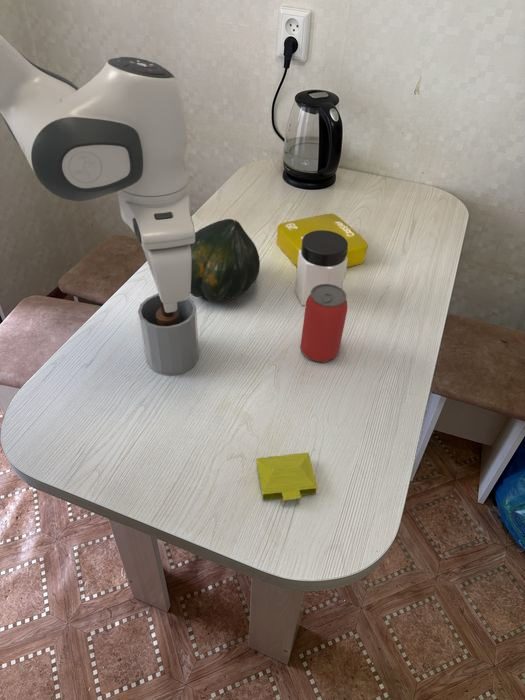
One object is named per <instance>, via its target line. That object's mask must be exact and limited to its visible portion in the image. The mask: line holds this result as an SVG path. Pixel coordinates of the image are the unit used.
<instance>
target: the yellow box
mask: <svg viewBox="0 0 525 700" xmlns="http://www.w3.org/2000/svg"><path fill="white" fill-rule="evenodd" d="M318 230H326V231H332V232H335V233H338V234H340V235H341V236H343V237H344V238H345V239H346V240H347V242H348V251H347V255H346V257H347V259H348V262H347V267H346V269H347V268H350V267H354V266H359V265H361V264H363V263H364V262H365V261H366V256H367V251H368V247H369V243H368V241H367V240H366V239H365V238H364V237H362V236H361V235H360V234H359V233H358V231H356V230H354V229H353V228H352V227H351V226H350V225H349V224H348V223H347V222H345V221H344V220H343V219H342V218H341V217H340V216H338V215H337V214H335V213H325V214H321V215H314V216H310V217H306V218H305V217H304V218H300V219H296V220H290V221H286V222H282V223H280V224H278V226H277V231H276V232H277V233H276V246H277V247H279V249H280V250H281V251H282V252H283V253H284V254H285V255H286V257H288V259H289V260H290V262H292V263H293V264H294V266H295V267H297V264H298V255H299V250H300V249H301V247H302V239H303V237H304V236H305V235H306V234H307V233H310V232H312V231H318Z"/></svg>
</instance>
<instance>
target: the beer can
mask: <svg viewBox="0 0 525 700" xmlns="http://www.w3.org/2000/svg"><path fill="white" fill-rule="evenodd" d="M347 313H348V301H347V293H346V291H345V290H344V289H343V288H342V289H341V288H340V287H338V286H335V285H332V284H320V285H317V286H315V287H314V288H313V289H312V290H311V294H310V295H309V297H308V298H307V301H306V306H305V308H304V315H303V316H304V317H303V325H302V332H301V339H300V350H301V352H302V354H303V355H304V356H305V357H306V358H308V359H309V360H311V361H314V362H317V363H318V362H319V363H324V362H329V361H331V360H334V359H335V358H336V357H337V356H338V354H339V353H340V349H341V344H342V339H343V335H344V328H345V324H346V318H347Z"/></svg>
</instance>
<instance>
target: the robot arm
mask: <svg viewBox="0 0 525 700" xmlns="http://www.w3.org/2000/svg"><path fill="white" fill-rule="evenodd" d="M0 116H1V117H2V119H3V121H4V123H5V125H6V127H7V129H8V131H9V132H10V134H11V136H12V138H13V139H14V140H15V142H16V143H17V145H18V146H19V147H20V149H21V151H22V152H23V154H24V156H25V159H26V160H27V163H28V164H29V166H30V168H31V170H32V171H33V173H34V174H35V177H36V178H37V180H38V181H39V182H40V184H41V185H42V186H43V187H44V188H45V189H46V190H48V192H50V193H51V194H53V195H55V196H57V197H59V198H61V199H64V200H68V201H73V202H74V201H75V202H84V201H91V200H95V199H98V198H101V197H104V196H108V195H110V194H111V195H112V194H113V193H116V192H117V198H118V205H119V212H120V217H121V219H122V221H123V222H124V223H125V224H126V225H127V226H128V227H129V228H130V229H131V231H132V232H133V233H134V235H135V236H136V239H137V240H138V242H139V244H140V246H141V248H142V251H143V253H144V256H145V259H146V261H147V264H148V267H149V270H150V273H151V276H152V278H153V282H154V284H155V287H156V290H157V292H158V293H157V294H159V296H160V299H161V301H162V303H163V307H164V310H165V312H166V313H169V312H175V311H176V310H177V302H180V301H185V300H187V299H188V298H190V295H191V293H190V292H191V267H192V259H191V247H190V244H193V243H195V233H196V230H195V225H194V222H193V218H192V213H191V199H190V185H189V184H190V183H189V182H190V181H189V174H188V171H187V168H186V163H185V156H186V152H187V146H188V142H187V127H186V116H185V107H184V100H183V96H182V91H181V86H180V83H179V81H178V79H177V78H176V77H175V75H174V74H173V73H172V72H171V71H169V70H168V69H167V68H165V67H163V66H162V65H160V64H158V63H156V62H152V61H149V60H147V59H142V58H138V57H131V56H118V57H114V58H110V59H108V60H107V61H106V62H105V64H104V66H103V68H102V69H101V70H100V71H99V72H98V73H97V74H96V75H95V76H94V77H92V79H91V80H89V81H87V82H86V83H85V84H84V85H83V86H81V87H80V88H79V87H78V86H77V85H76V84H75V83H74V82H72V81H70V80H69V79H67V78H66V77H63V76H61V75H60V74H57V73H54V72H52V71H50V70H48V69H45V68H43V67H41V66H39V65H37V64H34V63H33V62H32V61H30V60H29V59H28V58H27V57H25V55H23V54H22V53H21V52H20V51H19V50H18V49H16V47H15V46H14V45H13V44H12V43H11V42H9V41H8V40H7V39H6V38H5V36H3V34H1V33H0Z"/></svg>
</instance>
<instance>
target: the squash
mask: <svg viewBox="0 0 525 700" xmlns="http://www.w3.org/2000/svg"><path fill="white" fill-rule="evenodd" d="M190 247H191V259H192V267H191V292H190V295H192V297H195V298H206V299H207V300H208V301H209V302H219V301H221V300H223V298H224V297H225V298H226V299H236V298H237V297H239V296H240V295H241V294H243V293H245V292H246V291H248V290H249V289H250V288H251V287H252V286H253V284H254V283H255V282H256V281H257V279H258V277H259V274H260V268H261V261H260V255H259V251H258V249H257V246H256V244H255V243H254V241H253V239H252V238H251V237H250V236H249V235H248V233H247V232H246V230H245V229H244V228H243V226H242V224H241V223H240V222H239V221H238V220H236V219H232V218H224V219H221V220H218V221H215V222H213V223H210V224H209V225H206V226H204V227H201V228H199V229H198V230H197V231H195V243H193V244H190Z"/></svg>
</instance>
